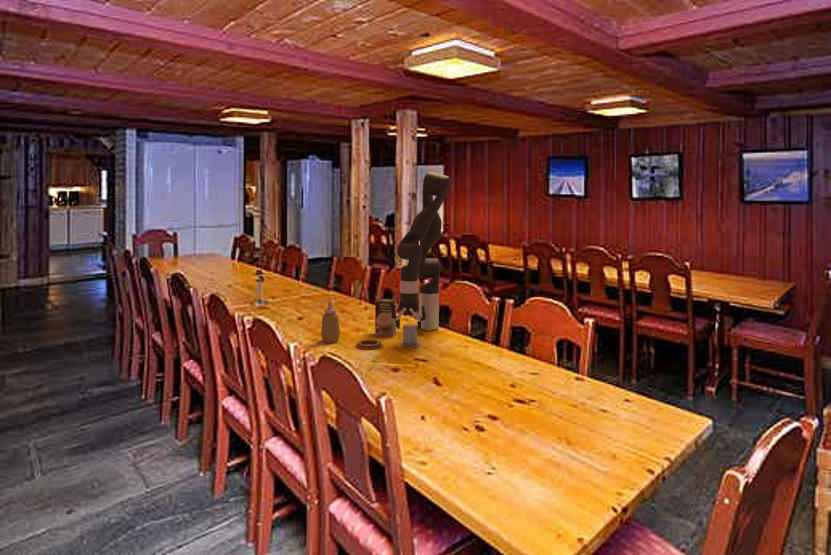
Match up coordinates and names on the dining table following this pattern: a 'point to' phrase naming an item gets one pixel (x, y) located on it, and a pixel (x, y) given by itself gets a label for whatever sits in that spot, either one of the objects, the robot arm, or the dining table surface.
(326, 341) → the squeeze bottle
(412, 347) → the felt coaster
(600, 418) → the dining table surface
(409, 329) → the jug
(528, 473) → the dining table surface
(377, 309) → the coffee box
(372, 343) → the stand
